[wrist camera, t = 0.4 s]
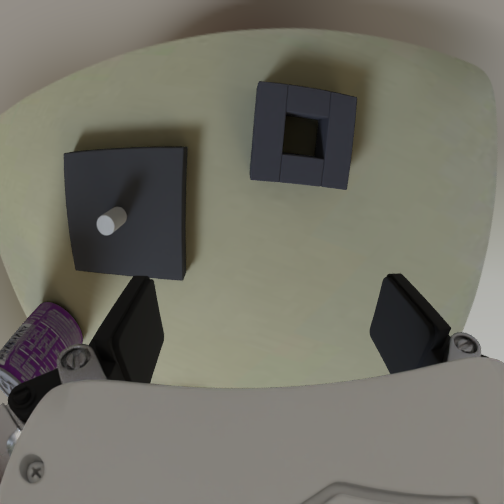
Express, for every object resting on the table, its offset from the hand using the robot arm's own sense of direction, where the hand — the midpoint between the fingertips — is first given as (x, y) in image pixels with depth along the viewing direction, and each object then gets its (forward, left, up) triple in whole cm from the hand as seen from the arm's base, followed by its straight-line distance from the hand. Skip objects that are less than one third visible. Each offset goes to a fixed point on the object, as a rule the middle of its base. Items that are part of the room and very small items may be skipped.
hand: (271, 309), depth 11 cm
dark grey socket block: (-7, +3, -13) cm, 15 cm away
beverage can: (+14, -22, -13) cm, 30 cm away
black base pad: (0, -11, -13) cm, 17 cm away
